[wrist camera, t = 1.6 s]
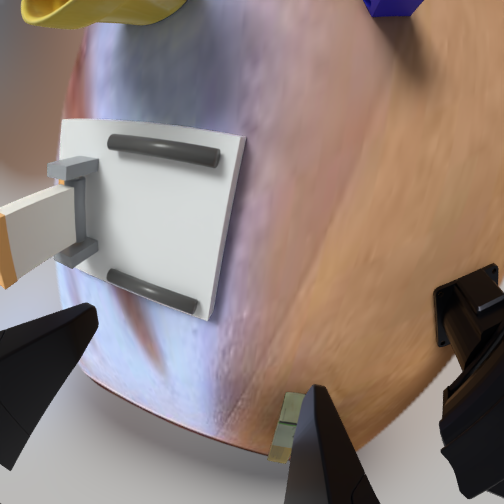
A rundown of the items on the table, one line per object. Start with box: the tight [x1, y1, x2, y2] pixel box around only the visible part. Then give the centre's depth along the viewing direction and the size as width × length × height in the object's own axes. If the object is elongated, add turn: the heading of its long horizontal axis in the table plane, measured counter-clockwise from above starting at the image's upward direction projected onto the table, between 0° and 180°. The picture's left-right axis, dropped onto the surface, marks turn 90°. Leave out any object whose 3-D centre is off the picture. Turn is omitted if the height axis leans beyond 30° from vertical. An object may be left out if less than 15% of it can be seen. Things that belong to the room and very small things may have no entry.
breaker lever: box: [0, 176, 87, 289], centre depth 15 cm, size 2×5×9 cm, turn 168°
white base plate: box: [47, 119, 246, 321], centre depth 18 cm, size 16×14×5 cm
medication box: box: [267, 392, 306, 464], centre depth 26 cm, size 12×3×4 cm, turn 177°
